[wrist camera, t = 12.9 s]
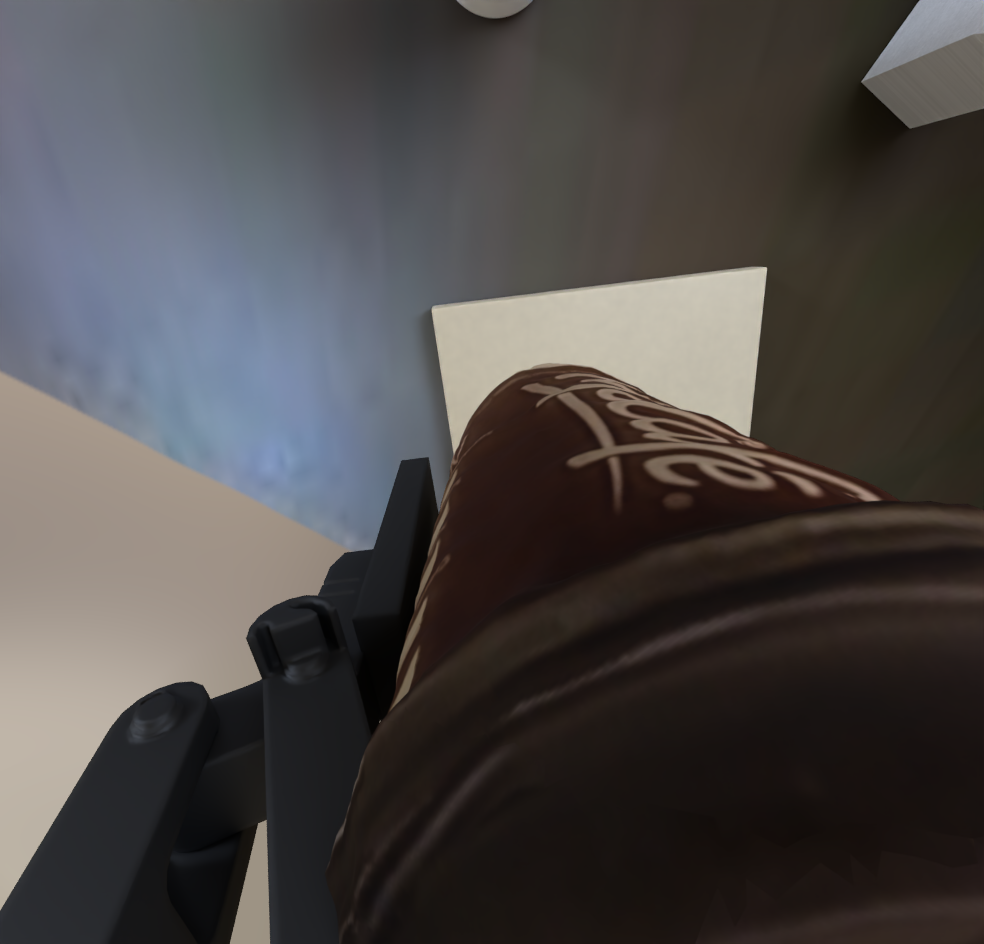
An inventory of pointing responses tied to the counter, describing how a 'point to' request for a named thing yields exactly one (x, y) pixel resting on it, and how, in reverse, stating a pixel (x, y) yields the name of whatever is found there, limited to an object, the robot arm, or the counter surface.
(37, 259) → the counter surface
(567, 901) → the coffee cup
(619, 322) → the scale
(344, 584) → the robot arm
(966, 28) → the grey tapered block
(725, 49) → the counter surface
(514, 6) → the drinking glass
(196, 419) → the counter surface
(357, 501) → the counter surface
